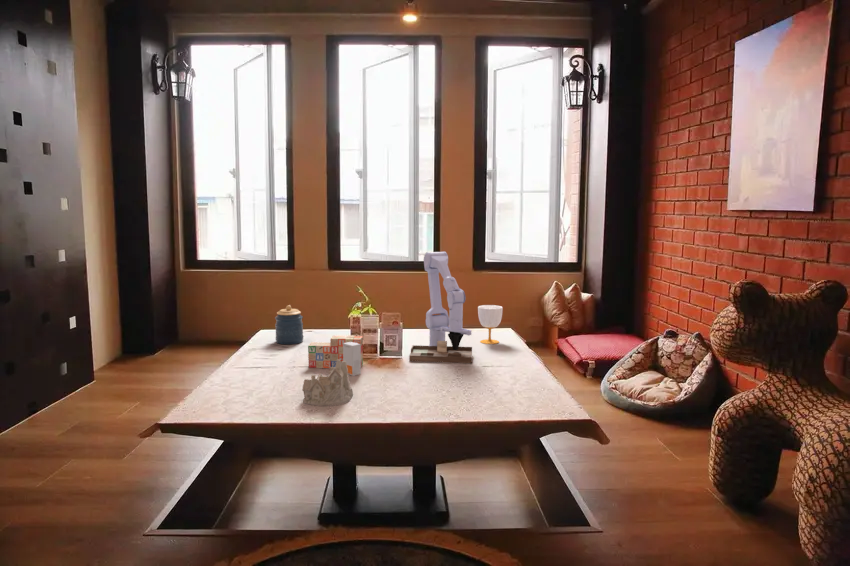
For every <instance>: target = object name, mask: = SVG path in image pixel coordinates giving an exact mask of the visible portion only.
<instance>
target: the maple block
mask: <svg viewBox="0 0 850 566" xmlns="http://www.w3.org/2000/svg"><path fill="white" fill-rule="evenodd" d="M447 346H448V341H447V340H445V341H438V342H437V352H447Z"/></svg>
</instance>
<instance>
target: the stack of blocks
mask: <svg viewBox="0 0 850 566" xmlns="http://www.w3.org/2000/svg"><path fill="white" fill-rule="evenodd" d="M329 340H330V342H322V341H321V342H318V341H317V342H316V341H311V342H310V343H309V344H308V345H307V352H308V353H307V354H308V356H307V357H308V369H309V368H310V369H311V368H316V369H323V368H324V369H330V367H335V366H336V362H337V360H340V361H341V362H342V361H343V343H347V342H354V343H358V344H361V368H362V367H363V363H364V360H363V359H364V358H363V355H364V354H363V353H364V348H363V347H364V342H363V341H364V337H363V335H362V336H361V335H360V336H359V335H349V334H348V335H332V336H331V337H330V339H329Z"/></svg>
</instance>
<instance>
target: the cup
mask: <svg viewBox="0 0 850 566" xmlns="http://www.w3.org/2000/svg"><path fill="white" fill-rule="evenodd" d="M503 312H504V310H503V306H501V305H495V304H482V305H478V306H477V315H478V322H479V323H480V325H481V326H482V327H483V328H486V329H488V337H487V339H482V340H480V341H479V342H480V343H481V344H484V345H497V344H499V343H500V341H499V340H497V339H492V334H491V333H492V329H495V328H498V326H499V325H500V324H501V321H502V319H503Z"/></svg>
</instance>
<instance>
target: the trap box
mask: <svg viewBox="0 0 850 566" xmlns="http://www.w3.org/2000/svg"><path fill="white" fill-rule="evenodd" d="M408 357H409V359H408V361H409V362H418V363H419V362H420V363H421V362H422V363H424V362H425V363H454V364H455V363H456V364H457V363H458V364H472V360H473V346H459V347H458V350H453V347H452V345H451V346H448V345H447V352H437V346H429V345H414V344H413V345H411V348H410V353H409V356H408Z"/></svg>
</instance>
